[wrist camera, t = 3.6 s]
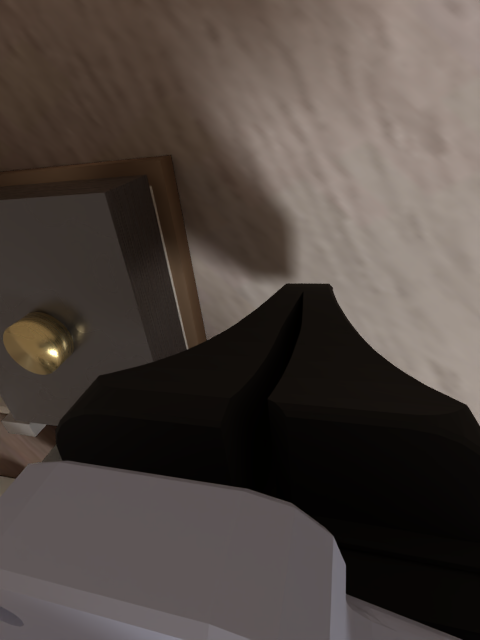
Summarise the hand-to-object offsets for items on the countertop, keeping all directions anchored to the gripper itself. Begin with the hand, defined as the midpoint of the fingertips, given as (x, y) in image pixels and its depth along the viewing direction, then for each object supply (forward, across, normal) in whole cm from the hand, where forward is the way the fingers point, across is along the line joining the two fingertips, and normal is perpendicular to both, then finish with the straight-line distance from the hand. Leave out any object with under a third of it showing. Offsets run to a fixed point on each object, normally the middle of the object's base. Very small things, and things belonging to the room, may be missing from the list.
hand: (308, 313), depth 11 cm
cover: (0, +8, 0) cm, 8 cm away
